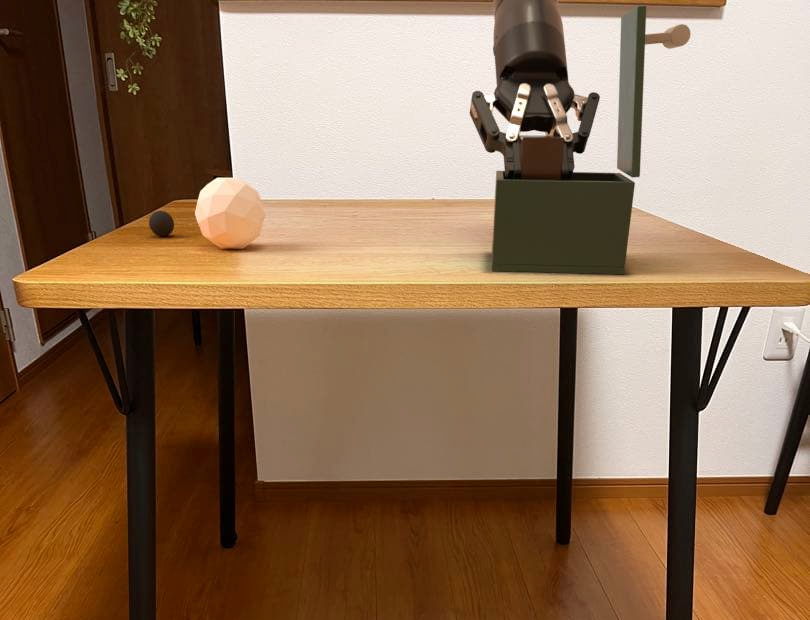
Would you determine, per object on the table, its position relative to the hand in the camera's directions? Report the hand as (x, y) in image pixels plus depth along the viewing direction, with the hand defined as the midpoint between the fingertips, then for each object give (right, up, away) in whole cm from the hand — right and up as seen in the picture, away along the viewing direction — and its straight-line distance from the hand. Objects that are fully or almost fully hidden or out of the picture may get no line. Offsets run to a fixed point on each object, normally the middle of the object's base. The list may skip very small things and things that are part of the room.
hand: (540, 179), depth 89 cm
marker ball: (-44, +1, +20) cm, 48 cm away
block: (0, -4, +4) cm, 5 cm away
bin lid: (+8, +7, -2) cm, 11 cm away
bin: (+2, -7, +5) cm, 9 cm away
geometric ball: (-34, -3, +12) cm, 36 cm away
